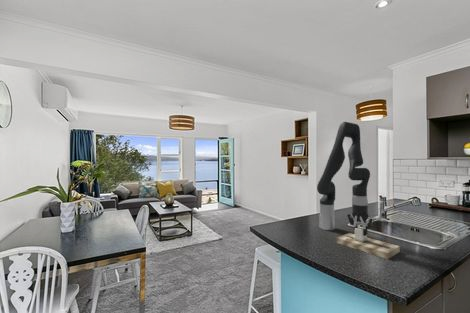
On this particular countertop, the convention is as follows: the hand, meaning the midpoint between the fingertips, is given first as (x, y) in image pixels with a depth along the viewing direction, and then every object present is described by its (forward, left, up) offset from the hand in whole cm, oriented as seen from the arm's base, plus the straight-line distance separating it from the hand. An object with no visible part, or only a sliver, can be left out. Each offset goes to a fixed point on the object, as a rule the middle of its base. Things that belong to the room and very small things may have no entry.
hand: (360, 234), depth 123 cm
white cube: (0, 0, -3) cm, 3 cm away
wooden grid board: (+3, 0, -6) cm, 7 cm away
